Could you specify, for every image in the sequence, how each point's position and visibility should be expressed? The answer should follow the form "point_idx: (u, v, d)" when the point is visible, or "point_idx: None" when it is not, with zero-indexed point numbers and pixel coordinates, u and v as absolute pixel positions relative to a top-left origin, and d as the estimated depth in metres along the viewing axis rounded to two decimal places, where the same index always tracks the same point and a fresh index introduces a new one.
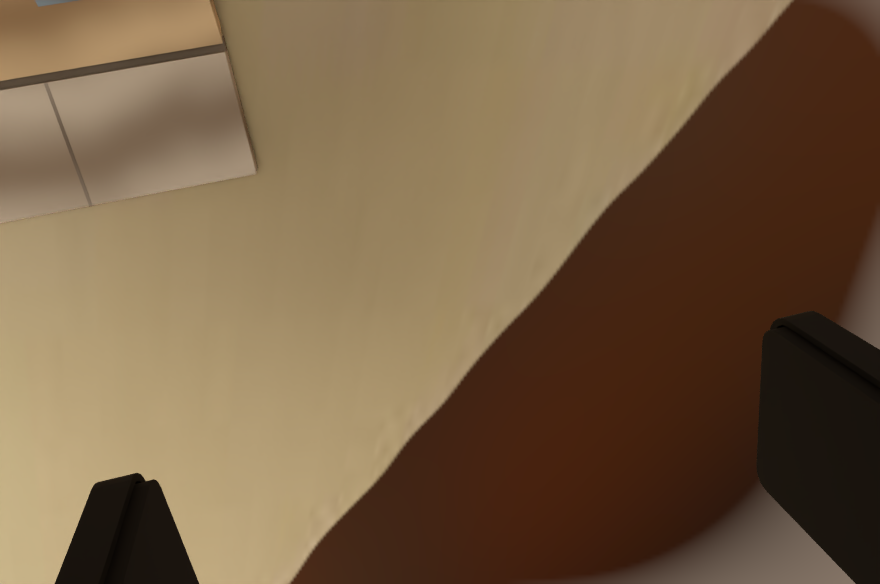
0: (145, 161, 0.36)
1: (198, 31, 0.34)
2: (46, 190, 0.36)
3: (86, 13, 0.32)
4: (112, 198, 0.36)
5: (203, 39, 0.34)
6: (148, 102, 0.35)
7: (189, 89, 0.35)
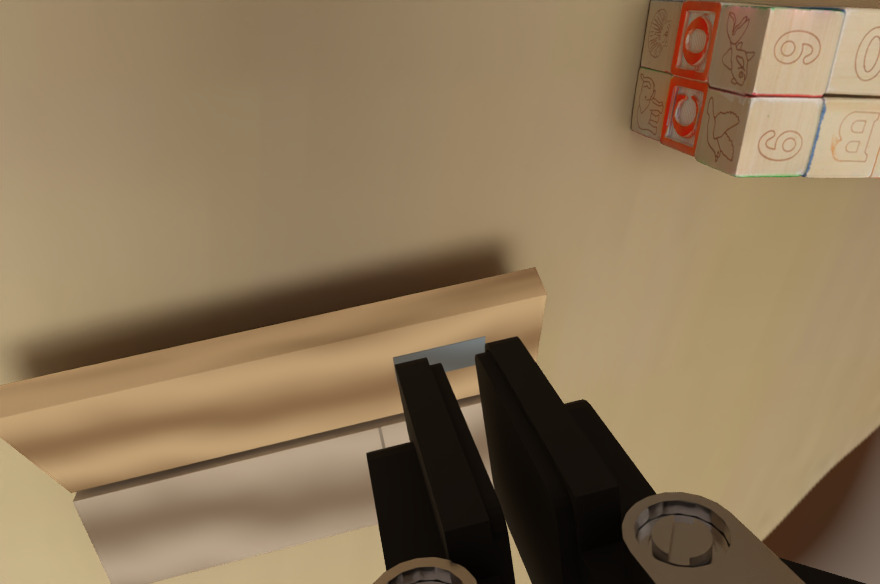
0: None
1: None
2: (364, 510, 0.39)
3: None
4: None
5: None
6: None
7: None
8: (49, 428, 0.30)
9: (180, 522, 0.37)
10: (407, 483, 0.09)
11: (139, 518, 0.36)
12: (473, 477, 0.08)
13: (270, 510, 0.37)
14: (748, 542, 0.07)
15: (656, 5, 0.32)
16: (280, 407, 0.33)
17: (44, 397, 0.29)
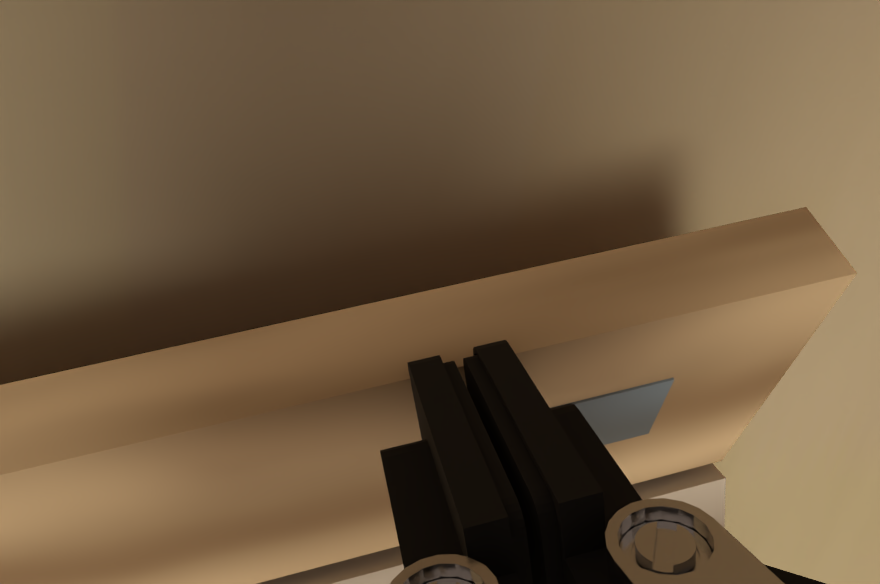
0: None
1: (696, 456, 0.18)
2: None
3: None
4: None
5: (696, 462, 0.18)
6: None
7: None
8: None
9: None
10: (422, 480, 0.09)
11: None
12: (490, 474, 0.08)
13: None
14: (731, 547, 0.07)
15: None
16: (181, 546, 0.14)
17: None
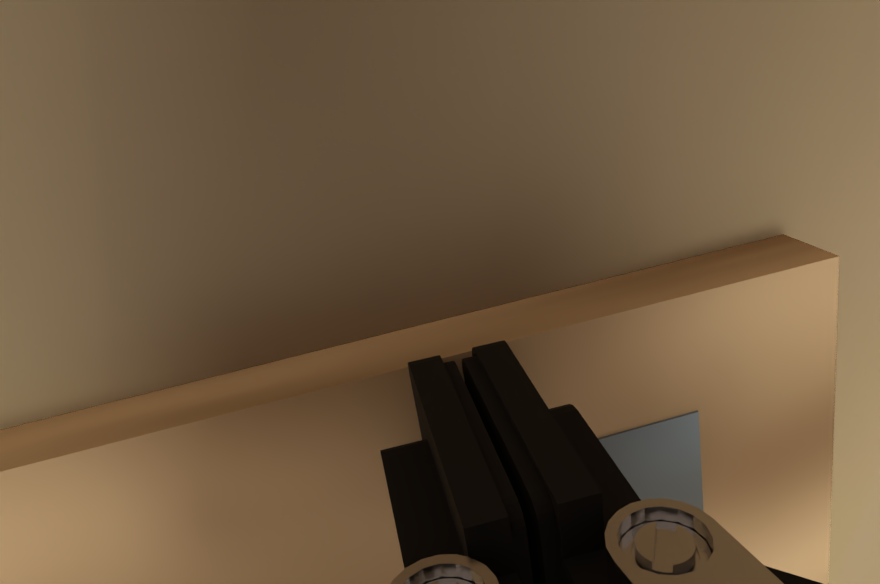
0: None
1: None
2: None
3: None
4: None
5: None
6: None
7: None
8: None
9: None
10: (422, 480, 0.09)
11: None
12: (491, 474, 0.08)
13: None
14: (731, 548, 0.07)
15: None
16: None
17: None
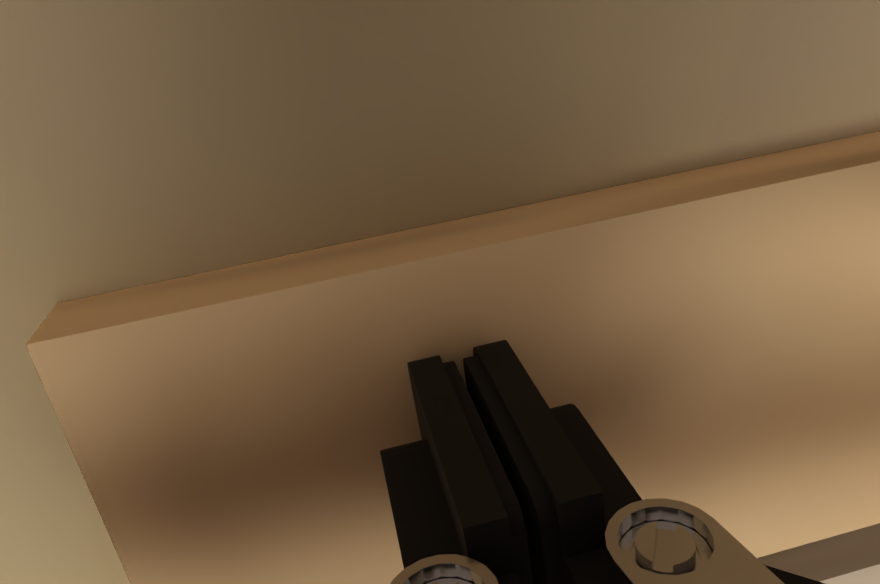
0: None
1: None
2: None
3: None
4: None
5: None
6: None
7: None
8: (195, 412, 0.11)
9: None
10: (422, 480, 0.09)
11: None
12: (490, 474, 0.08)
13: None
14: (731, 548, 0.07)
15: None
16: (743, 419, 0.13)
17: (201, 295, 0.11)
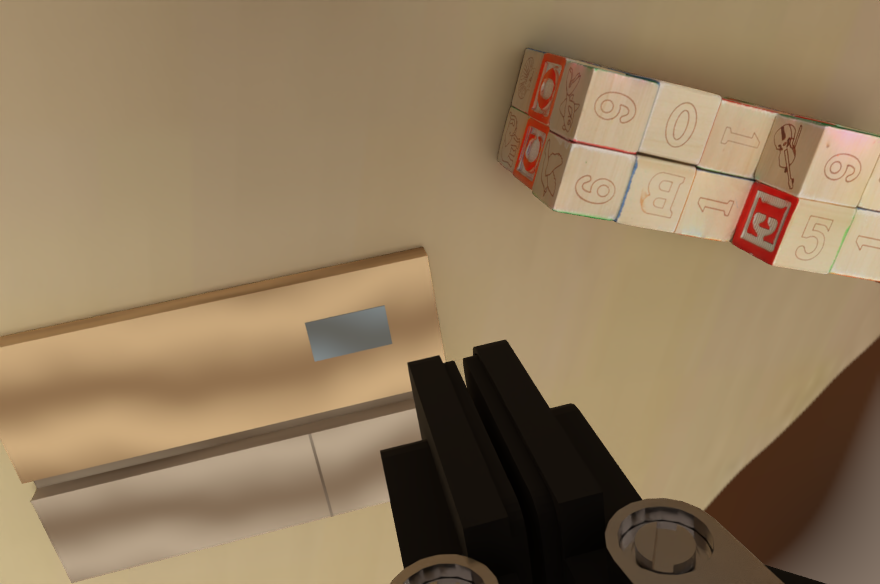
0: (379, 481, 0.43)
1: None
2: (298, 508, 0.43)
3: (348, 364, 0.40)
4: (349, 509, 0.43)
5: None
6: (387, 440, 0.42)
7: None
8: (12, 376, 0.36)
9: (129, 520, 0.41)
10: (422, 480, 0.09)
11: (92, 516, 0.40)
12: (490, 474, 0.08)
13: (212, 508, 0.41)
14: (732, 548, 0.07)
15: (528, 53, 0.36)
16: (211, 380, 0.38)
17: (13, 340, 0.36)
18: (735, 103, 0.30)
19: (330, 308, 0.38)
